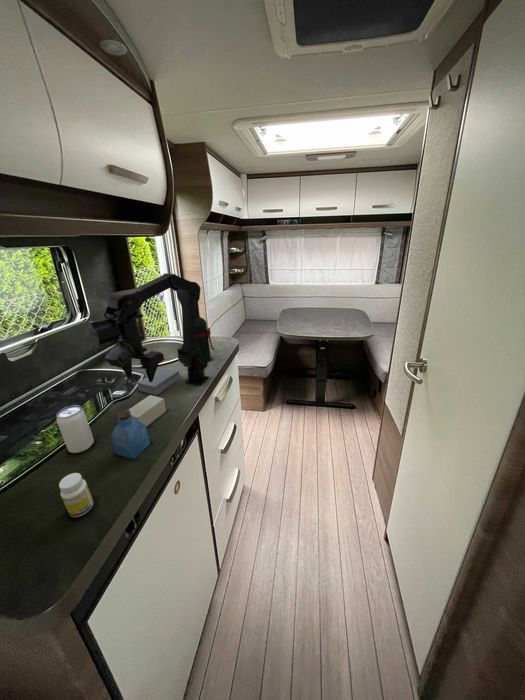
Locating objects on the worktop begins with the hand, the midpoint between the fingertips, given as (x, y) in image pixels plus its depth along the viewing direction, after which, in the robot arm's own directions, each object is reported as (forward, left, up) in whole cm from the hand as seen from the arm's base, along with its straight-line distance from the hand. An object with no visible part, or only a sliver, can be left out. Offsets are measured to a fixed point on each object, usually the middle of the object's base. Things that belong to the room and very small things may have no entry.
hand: (140, 379), depth 91 cm
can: (+21, -4, -12) cm, 24 cm away
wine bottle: (-41, -5, -12) cm, 43 cm away
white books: (+4, +4, -12) cm, 13 cm away
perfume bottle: (+16, +11, -12) cm, 23 cm away
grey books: (-15, -8, -12) cm, 21 cm away
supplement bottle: (+34, +15, -12) cm, 39 cm away
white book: (+4, +4, -9) cm, 10 cm away
